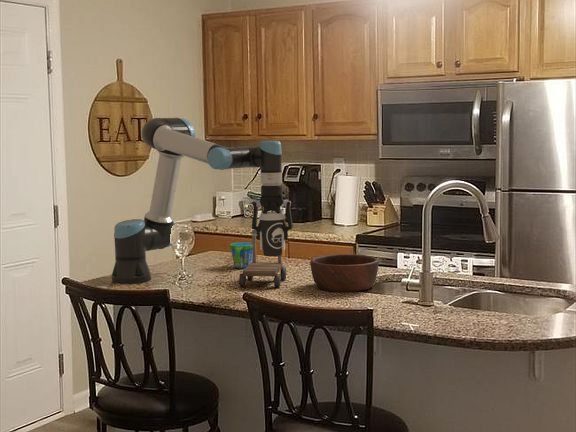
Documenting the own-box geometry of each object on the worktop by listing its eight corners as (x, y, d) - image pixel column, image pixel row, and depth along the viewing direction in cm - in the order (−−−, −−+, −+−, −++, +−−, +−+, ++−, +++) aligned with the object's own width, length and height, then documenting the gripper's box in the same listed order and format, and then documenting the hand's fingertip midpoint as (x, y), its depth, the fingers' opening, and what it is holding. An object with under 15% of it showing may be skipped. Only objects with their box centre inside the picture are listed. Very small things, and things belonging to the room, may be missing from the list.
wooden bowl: (343, 278, 300) (343, 251, 299) (392, 286, 282) (392, 259, 281) (296, 287, 284) (296, 259, 282) (346, 297, 265) (345, 267, 264)
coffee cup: (287, 252, 278) (286, 211, 276) (284, 257, 268) (283, 214, 267) (261, 252, 279) (260, 211, 277) (257, 257, 269) (256, 214, 268)
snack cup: (247, 271, 317) (246, 247, 316) (224, 270, 321) (223, 246, 320) (261, 265, 332) (261, 241, 330) (239, 264, 335) (238, 240, 334)
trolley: (278, 288, 281) (277, 236, 279) (239, 288, 283) (238, 236, 281) (286, 278, 300) (285, 229, 297) (249, 278, 302) (248, 229, 300)
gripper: (241, 185, 269) (243, 250, 271) (298, 185, 266) (299, 251, 268) (245, 184, 276) (247, 247, 279) (301, 183, 273) (302, 247, 276)
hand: (272, 249), depth 273 cm, fingers closed on coffee cup, 7 cm apart
